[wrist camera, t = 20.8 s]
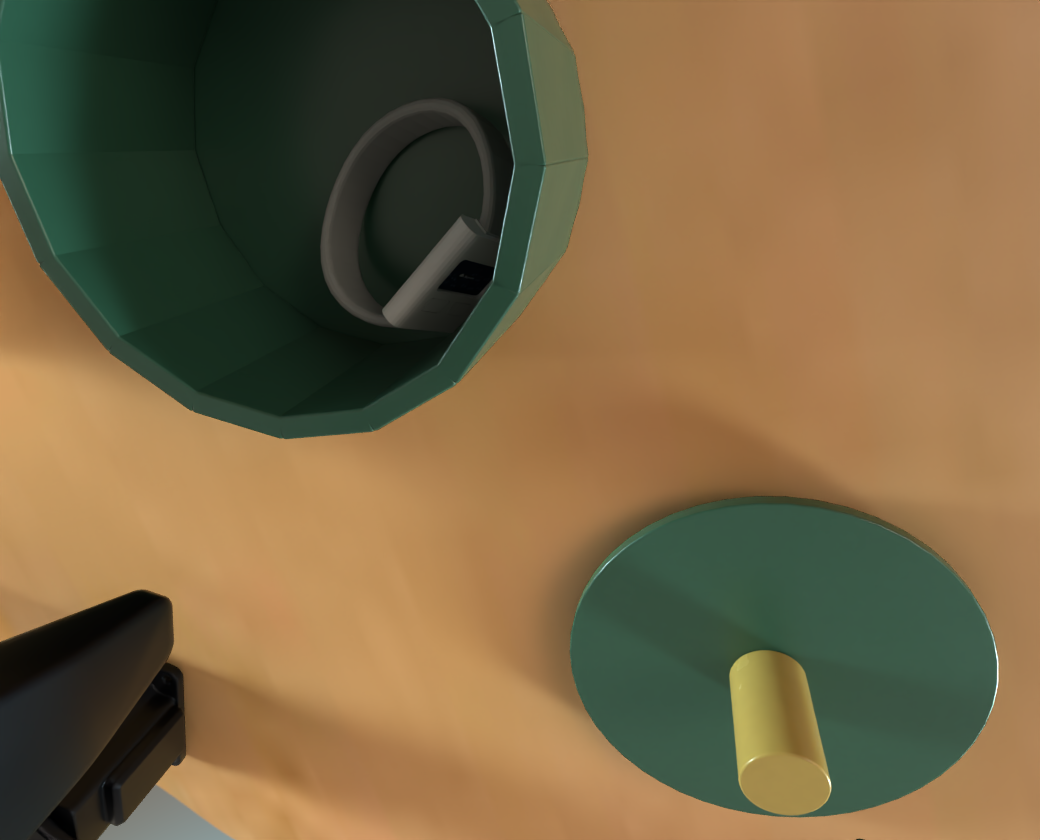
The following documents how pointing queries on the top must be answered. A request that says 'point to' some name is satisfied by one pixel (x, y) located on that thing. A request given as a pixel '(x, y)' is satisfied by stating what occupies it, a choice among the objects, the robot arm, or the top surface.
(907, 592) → the tin lid
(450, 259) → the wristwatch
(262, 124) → the tin
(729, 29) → the top surface
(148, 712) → the robot arm
